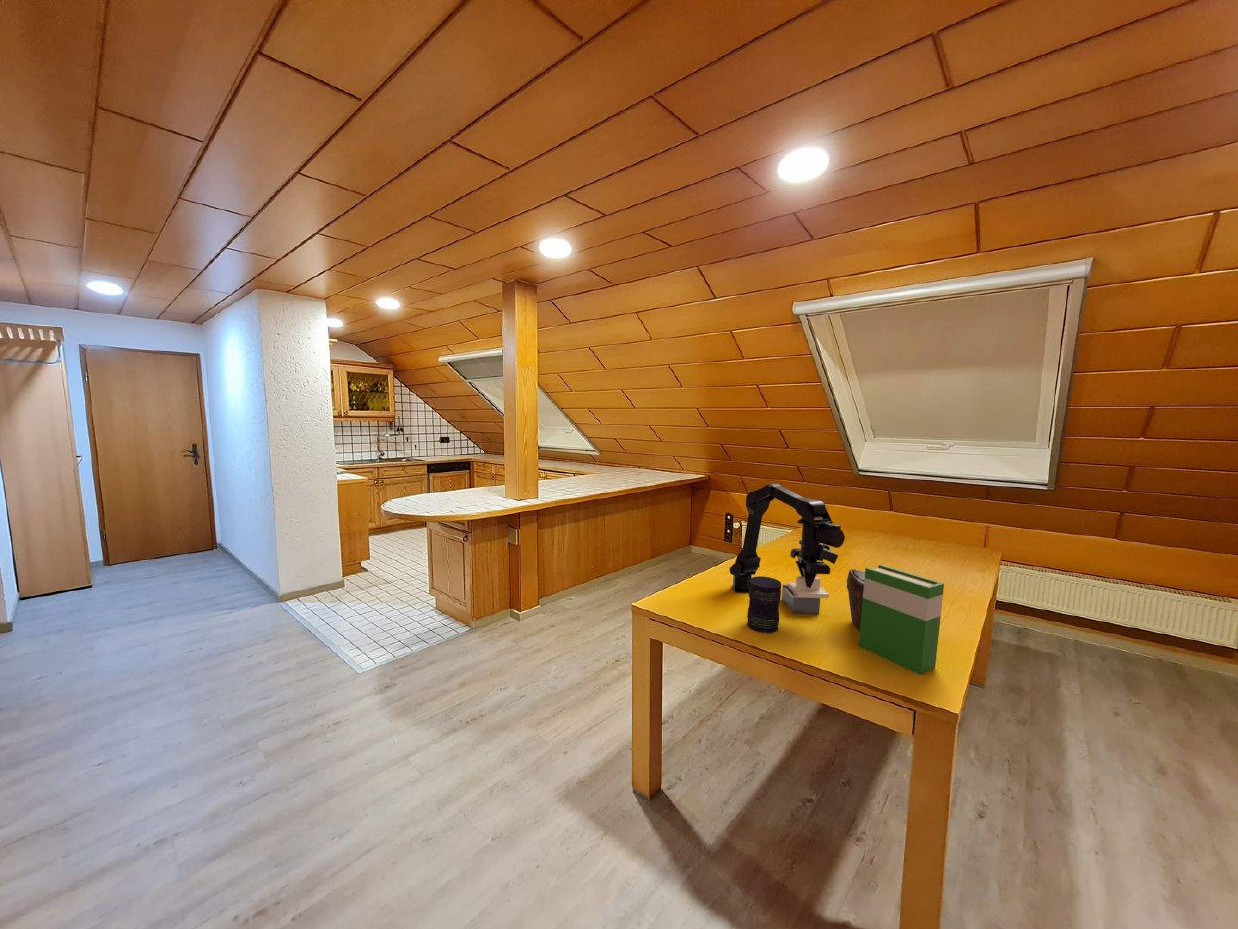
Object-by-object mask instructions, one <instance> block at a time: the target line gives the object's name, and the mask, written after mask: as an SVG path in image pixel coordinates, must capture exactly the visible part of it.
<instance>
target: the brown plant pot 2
mask: <svg viewBox="0 0 1238 929" xmlns="http://www.w3.org/2000/svg"><path fill="white" fill-rule="evenodd" d="M864 580H865V571H862V570H858V569H855V568H851V569H849V571H848V573H847V578H846V589H847V592H848V600H849V601H848V602H849V610H850V616H851V617H850V618H851V623H852V625H853V626H854V627H855V628H857V629H858V630H860V625H861V614H862V603H863V591H864Z"/></svg>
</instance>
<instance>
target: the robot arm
mask: <svg viewBox="0 0 1238 929" xmlns="http://www.w3.org/2000/svg"><path fill="white" fill-rule="evenodd" d="M745 497H746V498H745V508H746V510H747V513H748V516H747V521H746V526H745V527H746V529H745V533H744V538H743V544H742V549H741V550H740V552H738V554H737V555H736V558H735V562H734V563H733V564H732V565H731V566H730V567H729V569H728V570H729V573H730V575H732V576H733V578H732V579H733V580H732V584H731V588H732V589H733V592H735V593H748V594H749V585H750V578H752V576H754V575H756V573H757V570H759V568H760V564H761V559H762V558H761V556H759V555H758V552H757V547H758V542H759V538H760V537H759V536H760V532H761V524H762V521H763V520H762V519H763V516H764V514H765V513H766V512H767V511H768V510H769V506H770V505H771V504H770V503H771V502H772V501H774V500H775V499H776V500H777V501H780V502H781V503H784V504H785V505H787V506H789V507H791V508H793V509H794V510H795V512H796V513H797V514H798V515H799V516H800V517H801V518H799V519H798V520H797V522H796V523H797V524H800V525H801V527H802V529H801V539H800V540H799V541H798V543H799V545H800V548H799V547H798V548H796V547H794V548H792V549H791V550H790V557H791V558H792V559H796V557H797V560H795V564H796V567H797V569H798V571H799V575H800V577H804V578H805V582H806V585H807V587H808V588H811V586H812V584H813V581H814V579H815V577H817V575H831V569H832V568H831V566H829V565H828V564H827V563H826V562H825V561H827V562H829V563H831V564H833V565H835V564H836V562H837V560H838V557H839V554H837V553H836V552H835V551H833V550H831V549H830V547H832V548H835V549H839V548H840V547H842V546H843V545H844V543H845V539H846V536H845V533H844V531H843V530H842V529H841V525H839V524H833V523H834V522H833V520H832V518H831V516H830V514H829V512H828V510H827V507H826V504H825V503H824V502H823V501H821V500H818V499H814V498H808V497H803V496H801V495H799V494H798V493H796V492H793V491H792V490H789V489H787V488H786V487H784V486H782V485H780V484H778V483H769V484H766V485H765V486H762V487H761V488H758V489H756V490H754V491H750V492H748V493H747V494H746V496H745Z"/></svg>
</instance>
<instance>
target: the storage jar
mask: <svg viewBox="0 0 1238 929" xmlns="http://www.w3.org/2000/svg"><path fill="white" fill-rule="evenodd" d="M748 598H749V600H748V608H747V612H746V614H747V618H746V619H747V623H746V626H747V628H749V630H751V631H754V632H755V633H761V634H774V633H777V632H778V631H779V624H780V602H781V600H782V582H781V581H780V580H779V579H776V578H773V577H769V576H761V575H760V576H759V575H758V576H753V577H752V578H750V585H749V593H748Z"/></svg>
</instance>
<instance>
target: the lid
mask: <svg viewBox="0 0 1238 929" xmlns="http://www.w3.org/2000/svg"><path fill="white" fill-rule="evenodd" d="M795 580H796V581H795V582H787V585H788V587H789V588H790V589H791V590H792V591H793V592H794V593H795V594H796V595H797V596H798V597H813V598H820V599H829V598H830V597H829V596H830V595H829V593H828V592H827V591H826V590H825V589H824V588H822V587H821V578H820V577H819V576H816V577H815V579H814V581H813V584H812V586H811V588H808V587H807V585H806V582H805V578H804V577H801V575H800V576H796V579H795Z"/></svg>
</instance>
